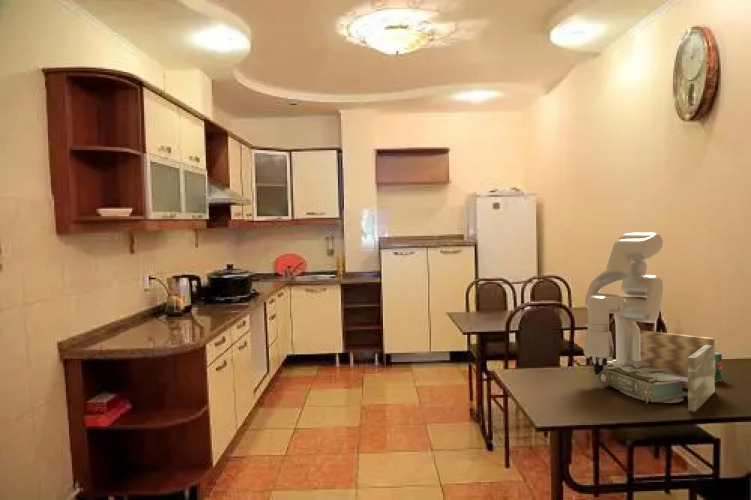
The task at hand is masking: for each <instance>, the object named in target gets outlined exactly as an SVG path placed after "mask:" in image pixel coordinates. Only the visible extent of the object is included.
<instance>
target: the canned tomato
mask: <svg viewBox="0 0 751 500" xmlns="http://www.w3.org/2000/svg"><path fill="white" fill-rule="evenodd" d="M722 354H723V353H722V352H721V351H718V350H715V383H718V381H720V382H722V380H723V379H722V377H723V376H722V375H723V373H722V371H723V370H722V367H723V366H722V362H723V360H722Z"/></svg>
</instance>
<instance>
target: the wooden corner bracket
mask: <svg viewBox="0 0 751 500" xmlns="http://www.w3.org/2000/svg"><path fill="white" fill-rule="evenodd" d="M715 348H716V347H715V338H714V337H707V336H697V335H688V334H677V333H667V332H660V331H650V330H640V357H641V361H642V360H643V361H644V362H646V363H648V364H650V365H651V366H648V367H652V368H655V369H658V368H662V369H663V368H668V370H665V371H663V372H668V373H673V374H676V375H679V376H683V377H687V378H688V382H685V381H684V382H682V389H683V388H684V389H687V392H688V397H687V398H688V399H687V402H688V403H687V407H688V408H687V410H688V411H689V412H693V413H696V412H697V411H698V409H700V407H702V406H703V404H705V403H706V402H707V400H708V399H709V398H710V397H711V396H712V395H713V394H714V393H715V392H716V391H715V388H716V386H715V384H716V382H715V351H716V350H715Z"/></svg>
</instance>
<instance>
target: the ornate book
mask: <svg viewBox="0 0 751 500" xmlns="http://www.w3.org/2000/svg"><path fill="white" fill-rule="evenodd" d="M624 364H626V365H622V364H610V365H609V364H607V365H605V367H603V370H602V371H601V372H600V373H599V375H598V374H597V378H598V380H599V381H600V384H601V385H602V386H603V387H604V388H606V387H608V386H610V387H612V388H613V389H615V390H618V391H619V392H620V393H623V394H625V395H626V396H629V397H631V396H632V397H631V398H634V399H637V400H641V401H644V402H645V401H646V402H645V404H648V403H649V402H651V404H653V403H668V404H670V403H671V404H672V403H673V404H674V403H675V404H677V403H681V402H683V401H684V398H685V397H686V398H687V400H688V391H684V390H683V388H682V382H684V381H685V382H688V378H687V377H683V376H679V375H676V374H673V373H668V372H663V371H665V370H668V368H663V369H662V368H658V369H655V368H652V367H648V366H651V365H650V364H648V363H646V362H644V361H643V360H642V361H634V360H630V361H628V362H625V363H624ZM611 365H612V366H611ZM613 365H616V366H613Z"/></svg>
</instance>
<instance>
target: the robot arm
mask: <svg viewBox="0 0 751 500" xmlns="http://www.w3.org/2000/svg"><path fill="white" fill-rule="evenodd" d="M663 244H664V241H663V238H662V235H660V234H659V233H657V232H628V233H623V234H621V235H620V237H619V238H618V240H616V241H615V242H614V243H613V246H612V247H611V251H610V255H609V257H608V261H607V263H606V268H605V269H604V271H602V272H601V273H599V274H598V275H597V276H596V277H595V278H594V279H592V281H591V282H590V284H589V286H588V289H587V291H586V295H585V299H584V300H585V301H584V304H585V307H586V309H587V311H588V312H587V314H588V317H587V321H588V322H585V324H584V327H586V328H587V330H586V331H585V333H584V334H585V335H584V339H583V355H584V357H585V358H587V359H589V360H590V361H591V362H592V364H593V371H594V374H595V375H597V376H598V375H599V373H600V372H601V371H602V370H603V369H604V364H605V363H606V364H607V365H608V366H611V365H610V364H622V365H626V364H624V363H625V362H628V361H630V360H634V361H641V357H640V331H641V329H640V327H639V325H638V324H637V322H639V323H655V322H656V321H658V318H659V316H660V311H661V305H662V300H663V299H662V298H663V292H664V284H663V280H662V279H661V277H660V276H658V275H654V274H647V270H648V269H647V268H648V265H647V262H646V260H649V259H650V258H652V257H653V256H655V255H657V254H658V253H659V252H660V251H661V250H662V248H663ZM619 281H621V288H620V289H621V292H622V294H624V295H625V296H627V297H622V296H620V295H618V294H614V293H613V294H612V293H611V294H610V293H609V294H608V293H603V292H602V293H601V290H602V289H604V288H605V287H607V286H609V285H611V284H614V283H616V282H619ZM628 296H629V297H628ZM636 297H638V298H636ZM639 297H641V298H639ZM610 314H613V316H614V321H615V324H614V325H615V359H614V341H613V336H612V332H611V331H610ZM614 366H616V365H612V367H614Z"/></svg>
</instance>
